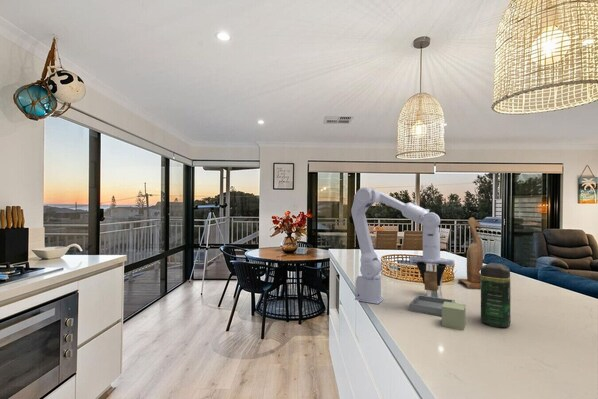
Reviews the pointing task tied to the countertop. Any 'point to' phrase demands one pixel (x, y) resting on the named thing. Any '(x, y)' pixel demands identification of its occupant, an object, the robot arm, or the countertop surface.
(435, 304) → the grey tray
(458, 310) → the olive block
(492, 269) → the coffee jar
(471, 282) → the bird sculpture
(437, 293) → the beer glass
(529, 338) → the countertop surface
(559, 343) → the countertop surface
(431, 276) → the walnut block
